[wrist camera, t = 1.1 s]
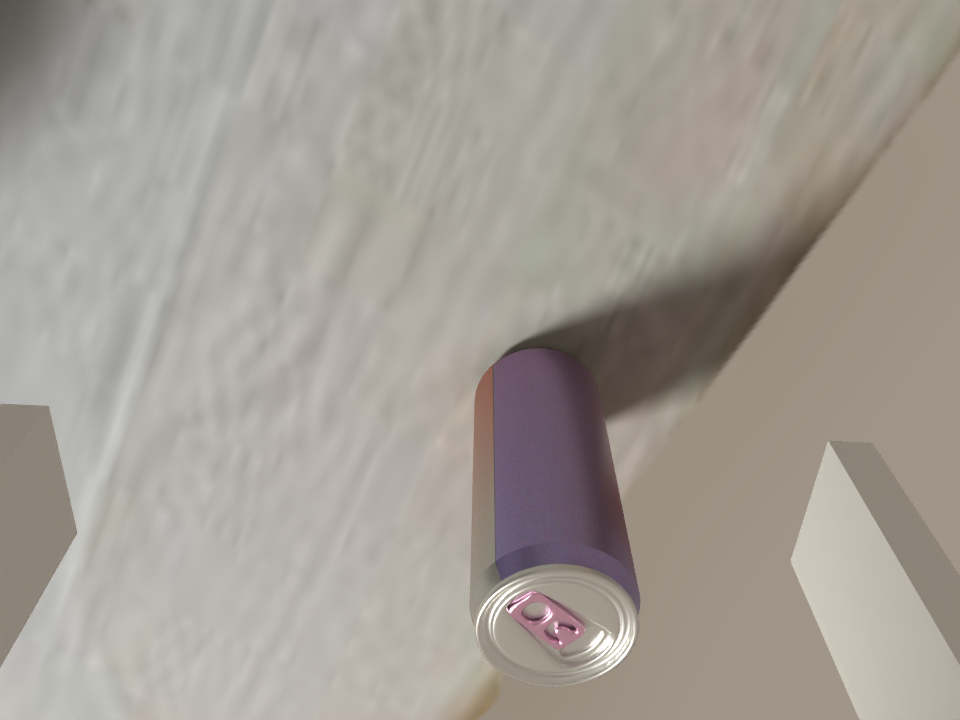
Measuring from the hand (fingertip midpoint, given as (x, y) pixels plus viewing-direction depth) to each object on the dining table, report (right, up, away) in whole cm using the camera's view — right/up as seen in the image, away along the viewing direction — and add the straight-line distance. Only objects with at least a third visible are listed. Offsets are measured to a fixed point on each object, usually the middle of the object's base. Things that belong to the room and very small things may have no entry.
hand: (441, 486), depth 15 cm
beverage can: (+3, +1, +28) cm, 28 cm away
